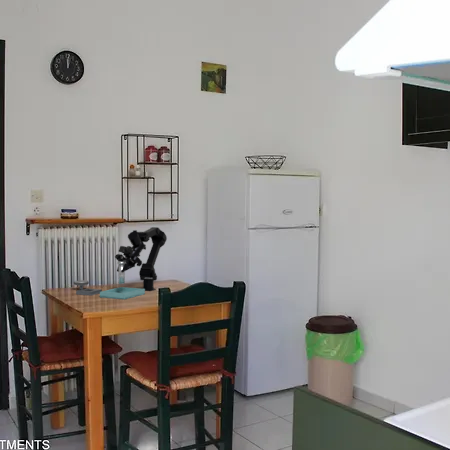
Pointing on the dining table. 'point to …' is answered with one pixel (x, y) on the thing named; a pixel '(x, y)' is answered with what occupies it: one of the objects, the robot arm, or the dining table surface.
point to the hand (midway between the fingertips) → (119, 271)
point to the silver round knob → (81, 283)
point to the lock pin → (121, 274)
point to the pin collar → (88, 291)
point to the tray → (122, 293)
